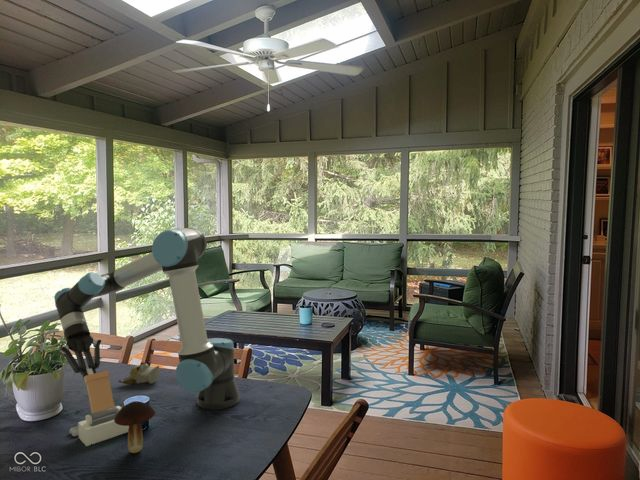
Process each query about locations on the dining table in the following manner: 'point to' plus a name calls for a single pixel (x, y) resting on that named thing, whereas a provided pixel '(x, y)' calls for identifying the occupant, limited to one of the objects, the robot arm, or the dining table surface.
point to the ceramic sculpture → (142, 374)
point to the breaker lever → (100, 394)
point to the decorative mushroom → (134, 422)
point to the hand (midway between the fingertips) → (93, 388)
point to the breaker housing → (98, 429)
